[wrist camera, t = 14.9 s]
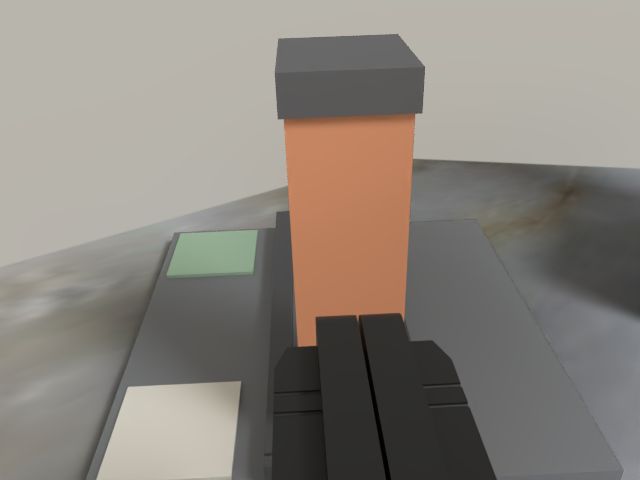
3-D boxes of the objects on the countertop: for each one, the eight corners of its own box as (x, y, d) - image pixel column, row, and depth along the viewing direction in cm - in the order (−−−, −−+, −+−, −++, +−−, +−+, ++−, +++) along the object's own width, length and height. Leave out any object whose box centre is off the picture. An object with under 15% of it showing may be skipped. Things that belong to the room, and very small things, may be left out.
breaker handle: (385, 376, 26) (397, 34, 19) (402, 458, 22) (425, 67, 15) (299, 380, 26) (278, 38, 19) (300, 463, 22) (275, 73, 15)
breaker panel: (474, 232, 39) (477, 202, 38) (617, 487, 22) (630, 447, 21) (176, 245, 39) (171, 216, 38) (84, 517, 22) (70, 477, 21)
